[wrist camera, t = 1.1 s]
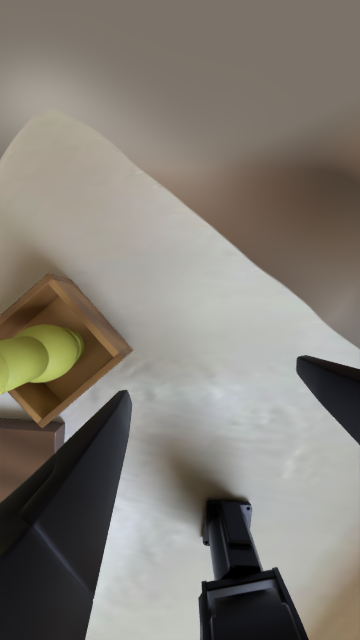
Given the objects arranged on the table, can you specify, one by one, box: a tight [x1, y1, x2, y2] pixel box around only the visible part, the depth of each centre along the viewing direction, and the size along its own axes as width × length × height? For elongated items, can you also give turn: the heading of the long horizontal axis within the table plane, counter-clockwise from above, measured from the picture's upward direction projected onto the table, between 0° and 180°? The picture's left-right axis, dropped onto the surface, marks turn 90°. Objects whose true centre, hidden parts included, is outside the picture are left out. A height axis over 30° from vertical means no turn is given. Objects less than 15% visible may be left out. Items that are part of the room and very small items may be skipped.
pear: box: [0, 324, 85, 395], centre depth 16 cm, size 6×6×12 cm
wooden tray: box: [0, 274, 133, 428], centre depth 21 cm, size 13×13×4 cm
